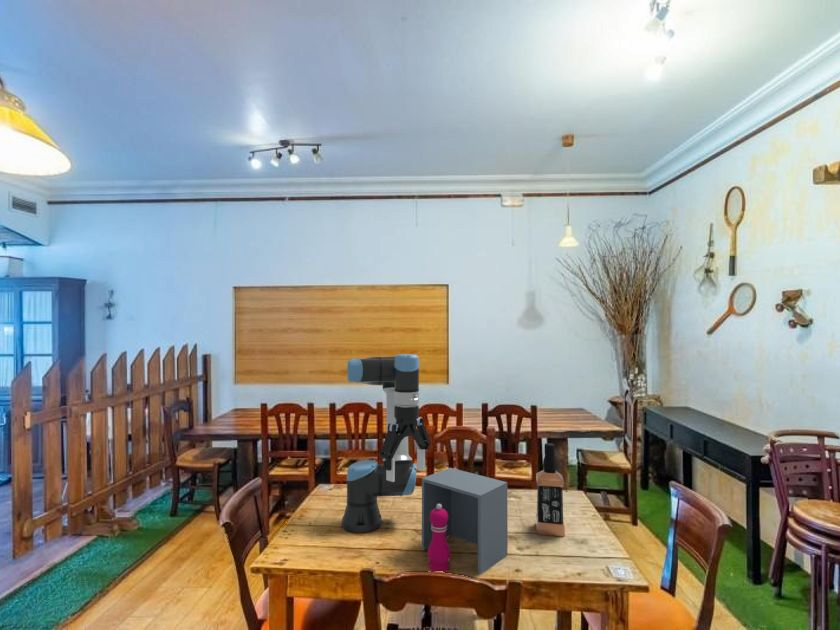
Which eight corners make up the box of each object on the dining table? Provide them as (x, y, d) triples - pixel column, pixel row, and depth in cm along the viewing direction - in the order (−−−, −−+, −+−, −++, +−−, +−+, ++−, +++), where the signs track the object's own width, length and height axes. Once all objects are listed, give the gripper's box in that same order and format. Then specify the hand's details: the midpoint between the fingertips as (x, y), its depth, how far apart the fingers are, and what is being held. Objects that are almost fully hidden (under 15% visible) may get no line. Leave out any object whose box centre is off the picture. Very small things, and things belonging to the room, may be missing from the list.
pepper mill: (431, 575, 139) (431, 509, 139) (424, 563, 146) (425, 500, 146) (453, 572, 141) (453, 507, 141) (446, 560, 148) (446, 498, 148)
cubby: (421, 549, 155) (421, 478, 156) (450, 533, 167) (450, 467, 168) (480, 574, 139) (480, 495, 140) (507, 555, 151) (507, 482, 152)
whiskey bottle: (565, 537, 165) (564, 448, 166) (537, 534, 167) (536, 446, 168) (562, 524, 175) (561, 441, 176) (535, 522, 177) (535, 439, 178)
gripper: (386, 412, 127) (385, 488, 126) (441, 401, 146) (441, 468, 145) (367, 408, 132) (367, 482, 131) (423, 399, 151) (423, 463, 150)
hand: (406, 475), depth 138 cm, fingers open, 13 cm apart
